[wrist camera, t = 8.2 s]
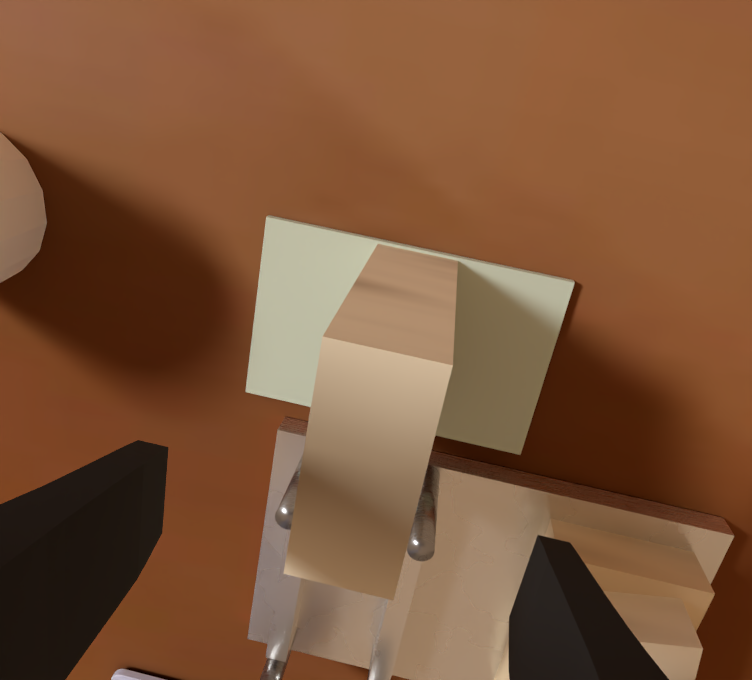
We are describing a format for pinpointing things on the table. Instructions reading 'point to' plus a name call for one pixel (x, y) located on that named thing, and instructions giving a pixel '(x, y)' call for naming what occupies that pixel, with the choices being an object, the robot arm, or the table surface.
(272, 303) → the mat
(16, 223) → the white cylinder
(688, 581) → the offcut lower
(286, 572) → the birch block
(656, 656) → the offcut upper
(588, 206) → the table surface
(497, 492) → the rack
